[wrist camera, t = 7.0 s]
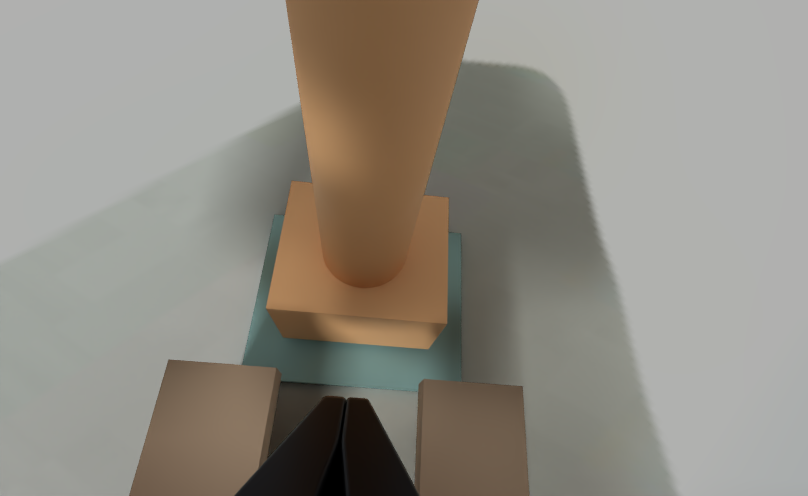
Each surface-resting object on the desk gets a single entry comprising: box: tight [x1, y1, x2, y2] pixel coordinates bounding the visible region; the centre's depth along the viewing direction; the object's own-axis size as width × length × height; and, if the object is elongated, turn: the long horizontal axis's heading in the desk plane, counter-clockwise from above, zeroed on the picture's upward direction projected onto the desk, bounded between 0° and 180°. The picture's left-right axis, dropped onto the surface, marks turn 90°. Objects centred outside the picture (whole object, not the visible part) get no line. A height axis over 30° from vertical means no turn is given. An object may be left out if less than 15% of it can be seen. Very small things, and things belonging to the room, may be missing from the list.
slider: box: [266, 0, 479, 349], centre depth 12 cm, size 5×6×15 cm
